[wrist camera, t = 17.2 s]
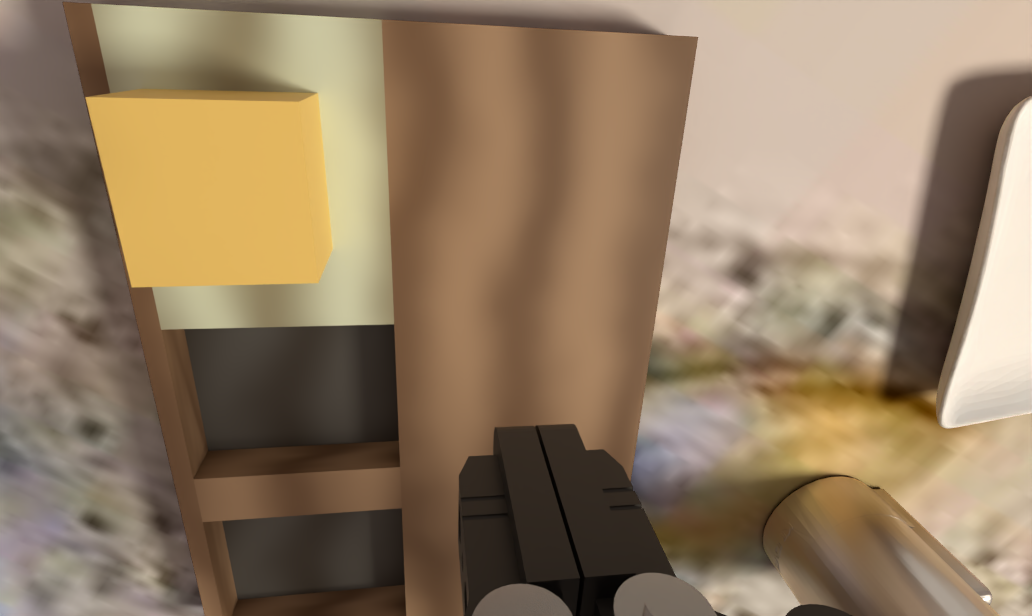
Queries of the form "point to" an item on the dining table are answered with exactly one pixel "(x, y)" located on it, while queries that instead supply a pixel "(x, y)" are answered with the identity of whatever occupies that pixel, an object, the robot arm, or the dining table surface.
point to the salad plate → (996, 294)
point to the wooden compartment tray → (403, 287)
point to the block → (215, 185)
